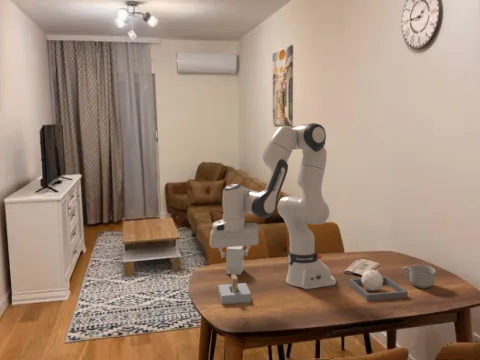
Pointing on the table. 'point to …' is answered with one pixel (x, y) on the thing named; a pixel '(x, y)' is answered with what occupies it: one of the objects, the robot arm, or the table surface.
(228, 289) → the grey peg hole block
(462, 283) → the table surface
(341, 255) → the table surface
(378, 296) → the grey rectangular frame
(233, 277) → the wooden peg
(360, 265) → the newspaper
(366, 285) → the decorative ball
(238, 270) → the supplement box
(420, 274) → the teacup
